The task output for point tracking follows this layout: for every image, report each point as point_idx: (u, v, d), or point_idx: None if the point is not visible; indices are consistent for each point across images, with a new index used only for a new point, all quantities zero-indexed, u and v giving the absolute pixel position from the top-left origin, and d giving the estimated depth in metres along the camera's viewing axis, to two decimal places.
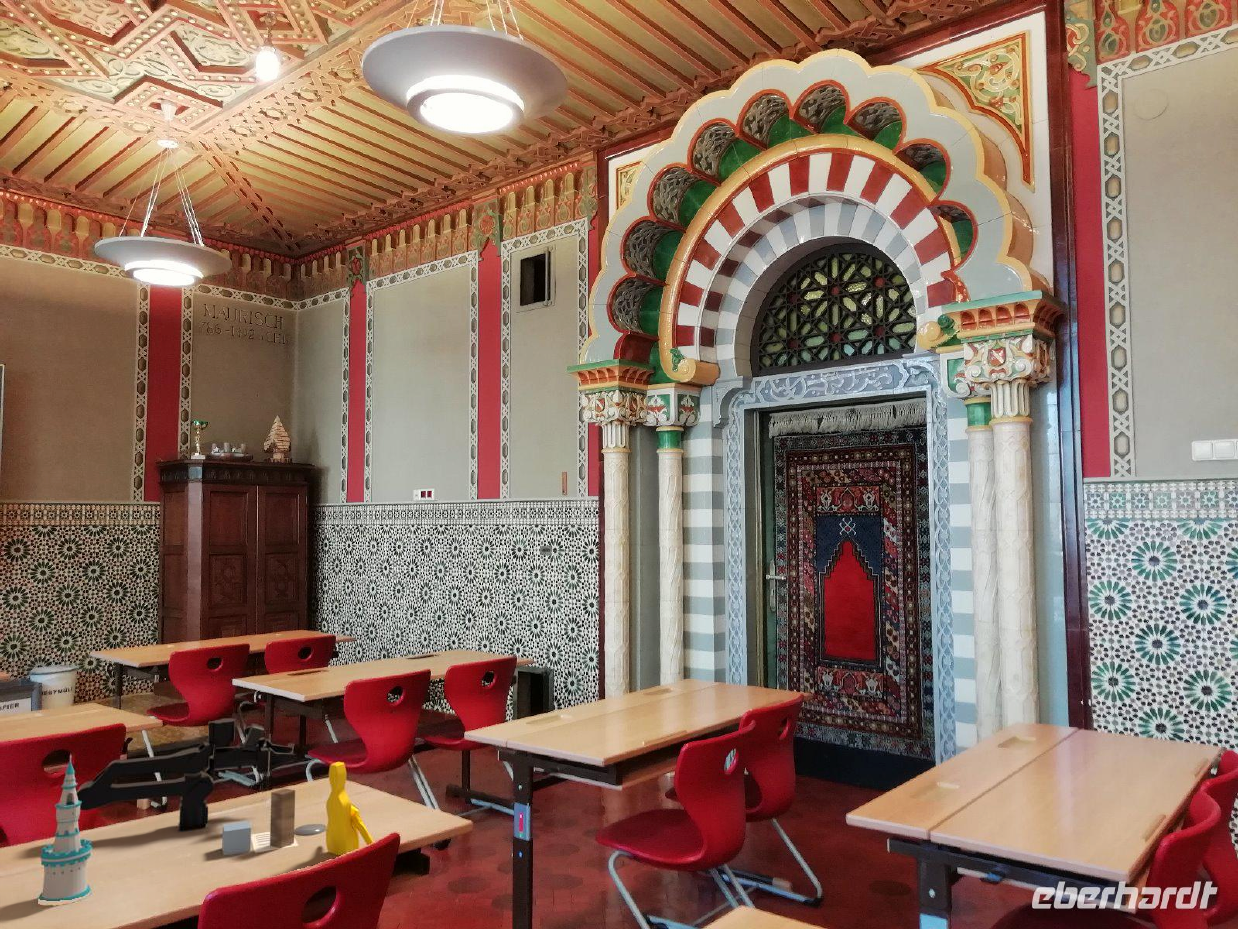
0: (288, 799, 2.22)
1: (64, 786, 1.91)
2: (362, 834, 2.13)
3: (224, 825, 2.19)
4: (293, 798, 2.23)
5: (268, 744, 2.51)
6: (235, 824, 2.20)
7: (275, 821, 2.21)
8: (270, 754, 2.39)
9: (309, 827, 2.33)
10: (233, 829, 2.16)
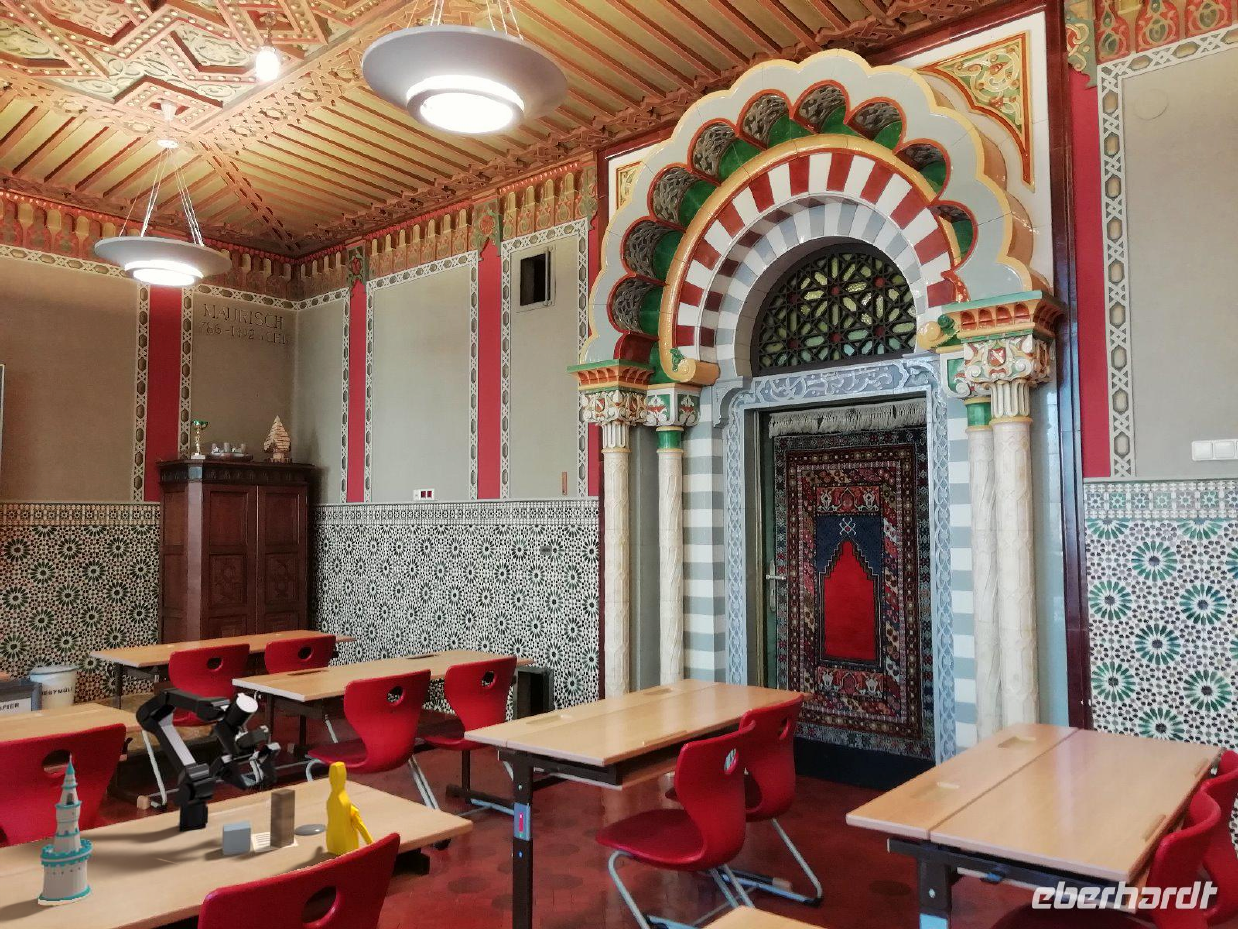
0: (288, 799, 2.22)
1: (64, 786, 1.91)
2: (362, 834, 2.13)
3: (224, 825, 2.19)
4: (293, 798, 2.23)
5: (268, 757, 2.33)
6: (235, 824, 2.20)
7: (275, 821, 2.21)
8: (225, 767, 2.22)
9: (309, 827, 2.33)
10: (233, 829, 2.16)
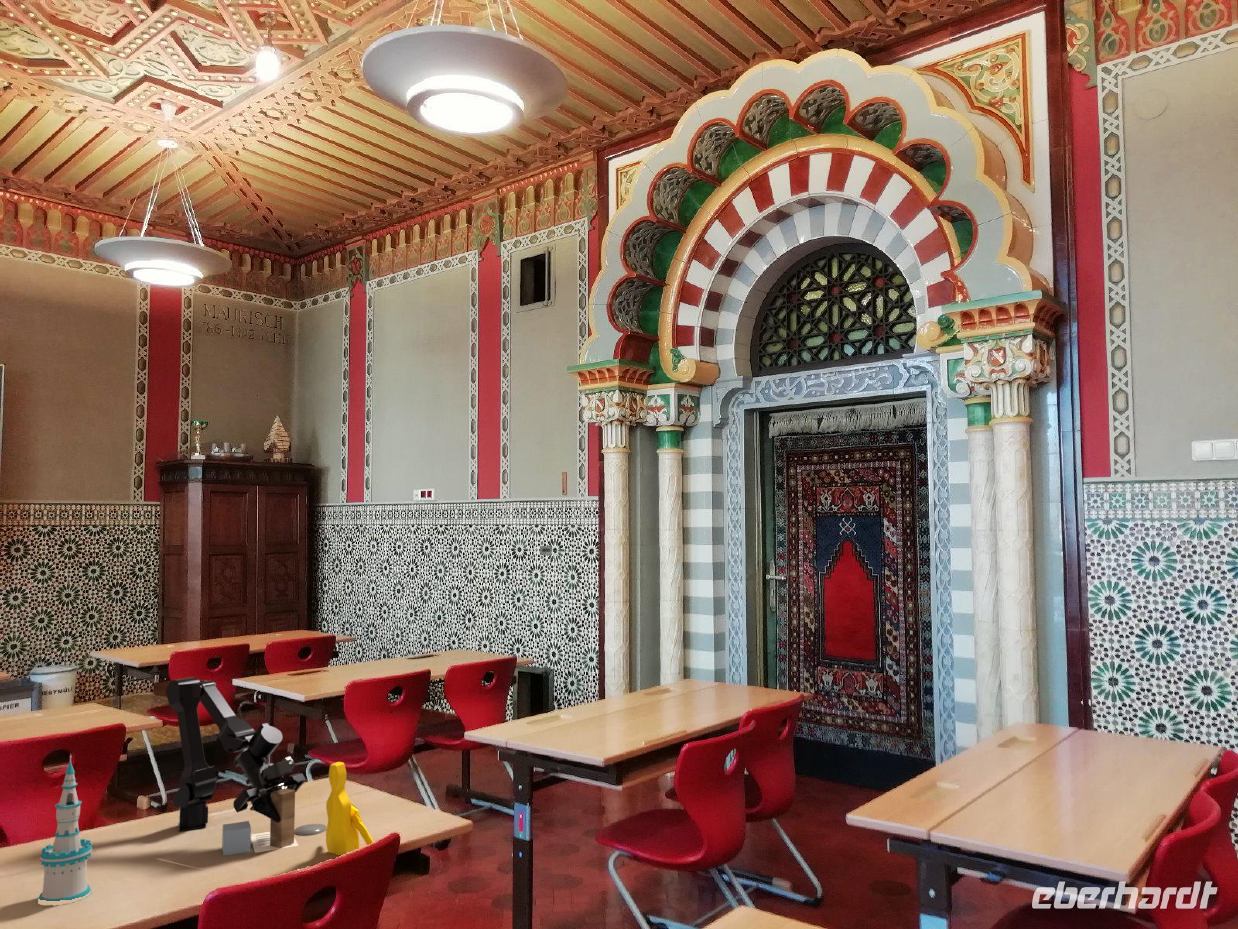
0: (288, 799, 2.22)
1: (64, 786, 1.91)
2: (362, 834, 2.13)
3: (224, 825, 2.19)
4: (293, 798, 2.23)
5: None
6: (234, 824, 2.20)
7: None
8: (259, 798, 2.19)
9: (309, 827, 2.33)
10: (233, 829, 2.16)
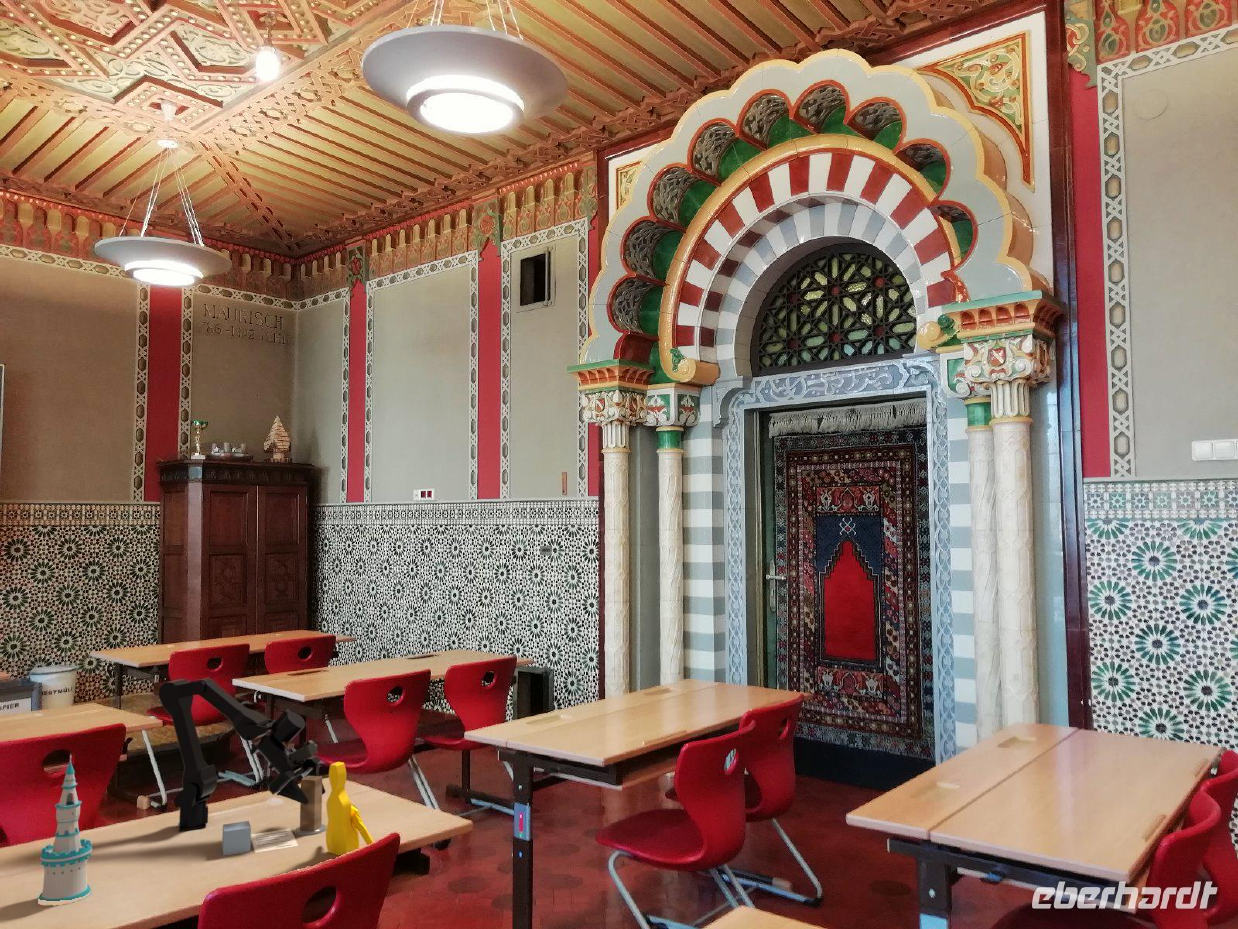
0: (318, 785, 2.33)
1: (64, 786, 1.91)
2: (362, 834, 2.13)
3: (224, 825, 2.19)
4: (321, 783, 2.34)
5: (314, 770, 2.39)
6: (235, 824, 2.20)
7: (306, 807, 2.31)
8: (288, 782, 2.26)
9: None
10: (233, 829, 2.16)
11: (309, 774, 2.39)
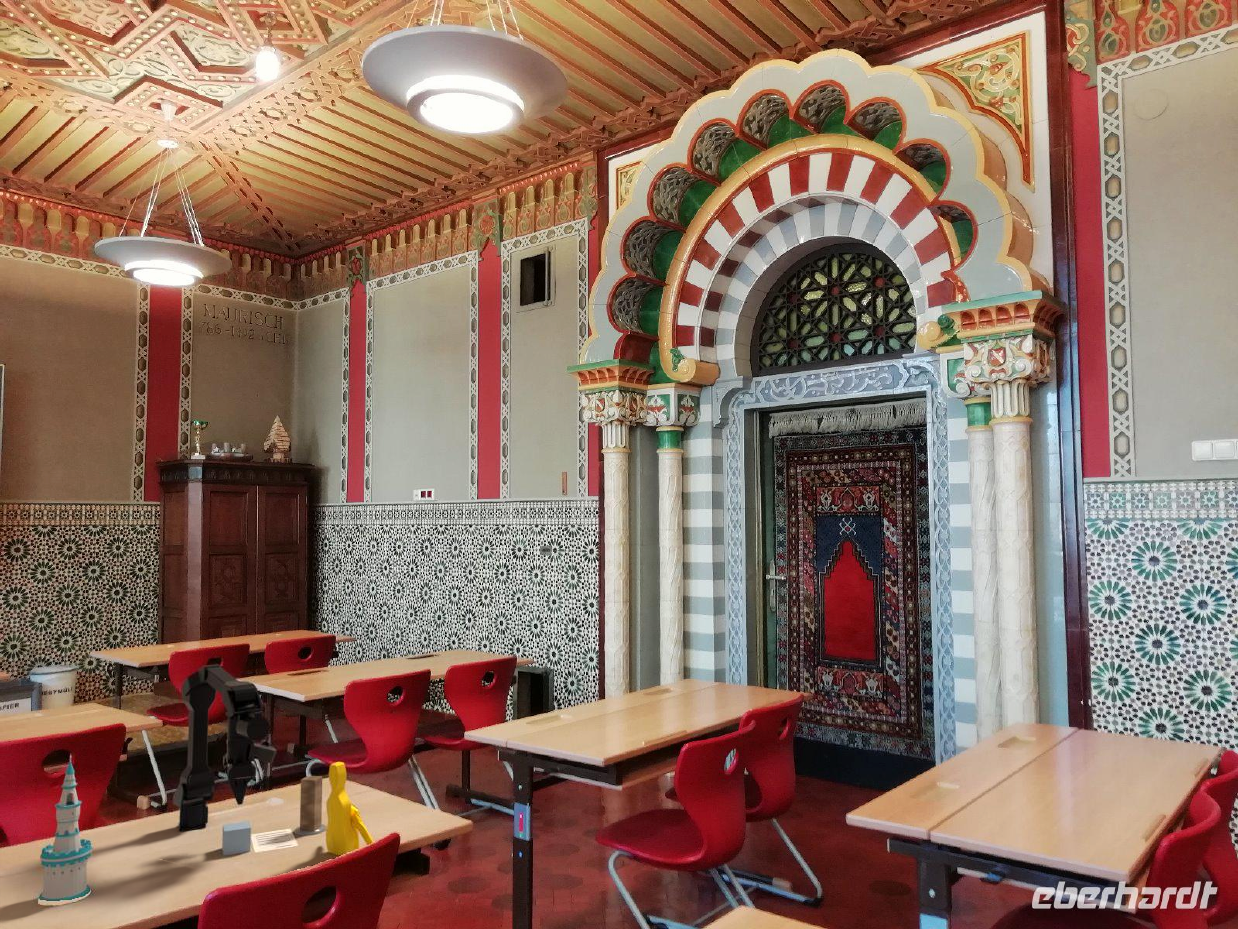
0: (318, 785, 2.33)
1: (64, 786, 1.91)
2: (362, 834, 2.13)
3: (224, 825, 2.19)
4: (321, 783, 2.35)
5: None
6: (234, 824, 2.20)
7: (306, 807, 2.31)
8: (249, 777, 2.14)
9: None
10: (233, 829, 2.16)
11: None
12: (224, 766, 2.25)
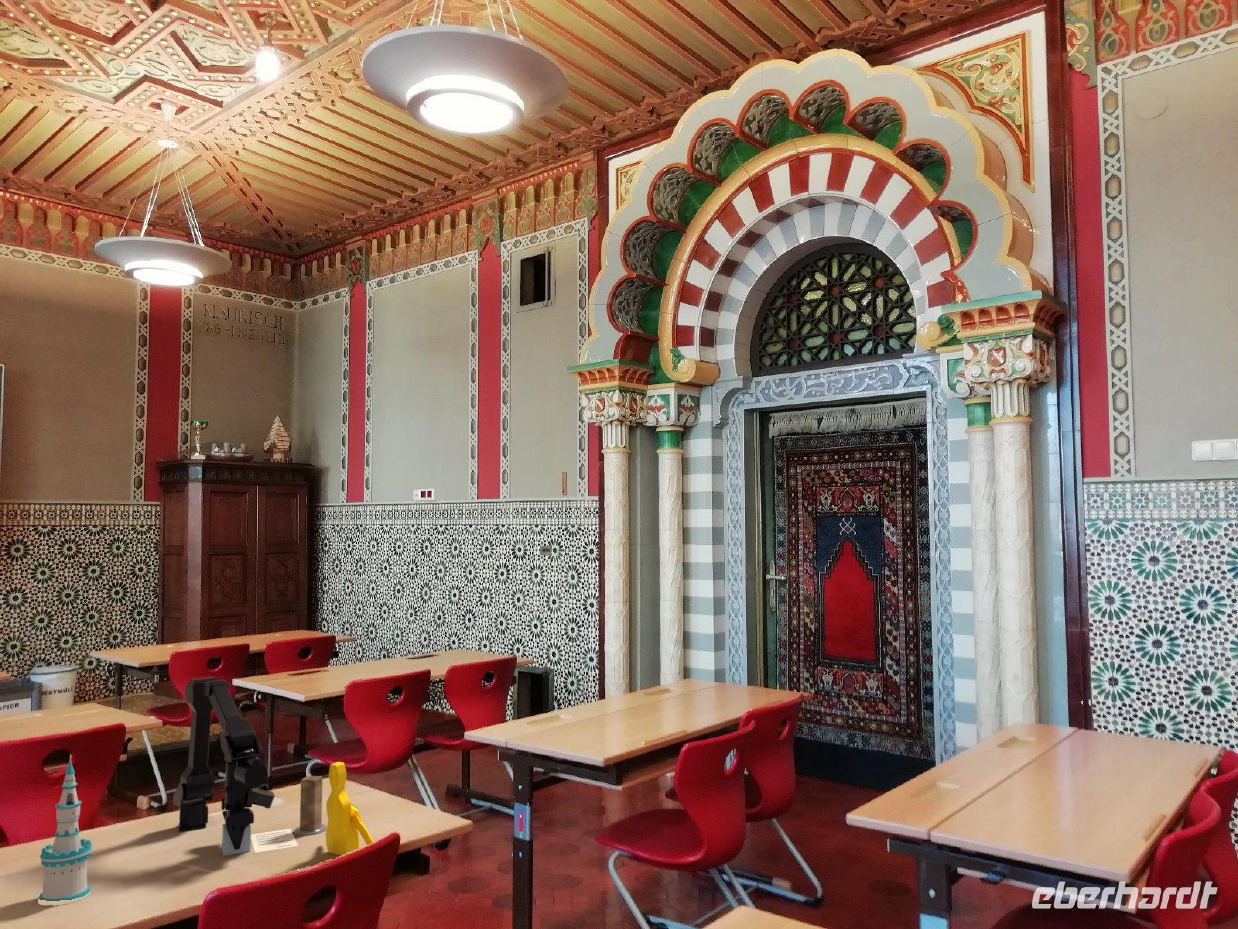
0: (318, 785, 2.33)
1: (64, 786, 1.91)
2: (362, 834, 2.13)
3: (224, 825, 2.19)
4: (321, 783, 2.35)
5: None
6: None
7: (306, 807, 2.31)
8: (246, 823, 2.14)
9: None
10: None
11: None
12: None
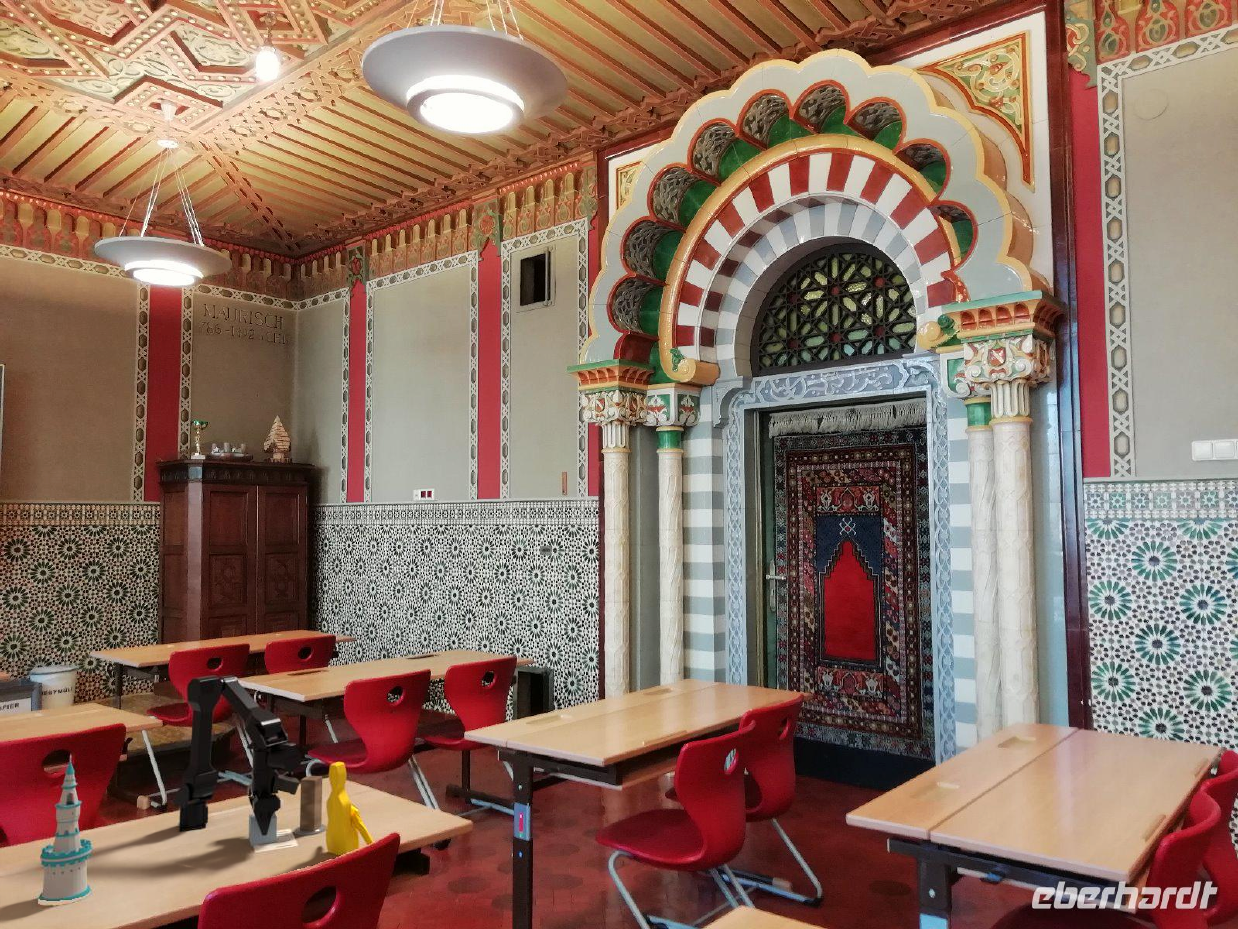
0: (318, 785, 2.33)
1: (64, 786, 1.91)
2: (362, 834, 2.13)
3: (251, 815, 2.26)
4: (321, 783, 2.35)
5: None
6: None
7: (306, 807, 2.31)
8: (274, 810, 2.19)
9: None
10: None
11: None
12: (249, 797, 2.30)
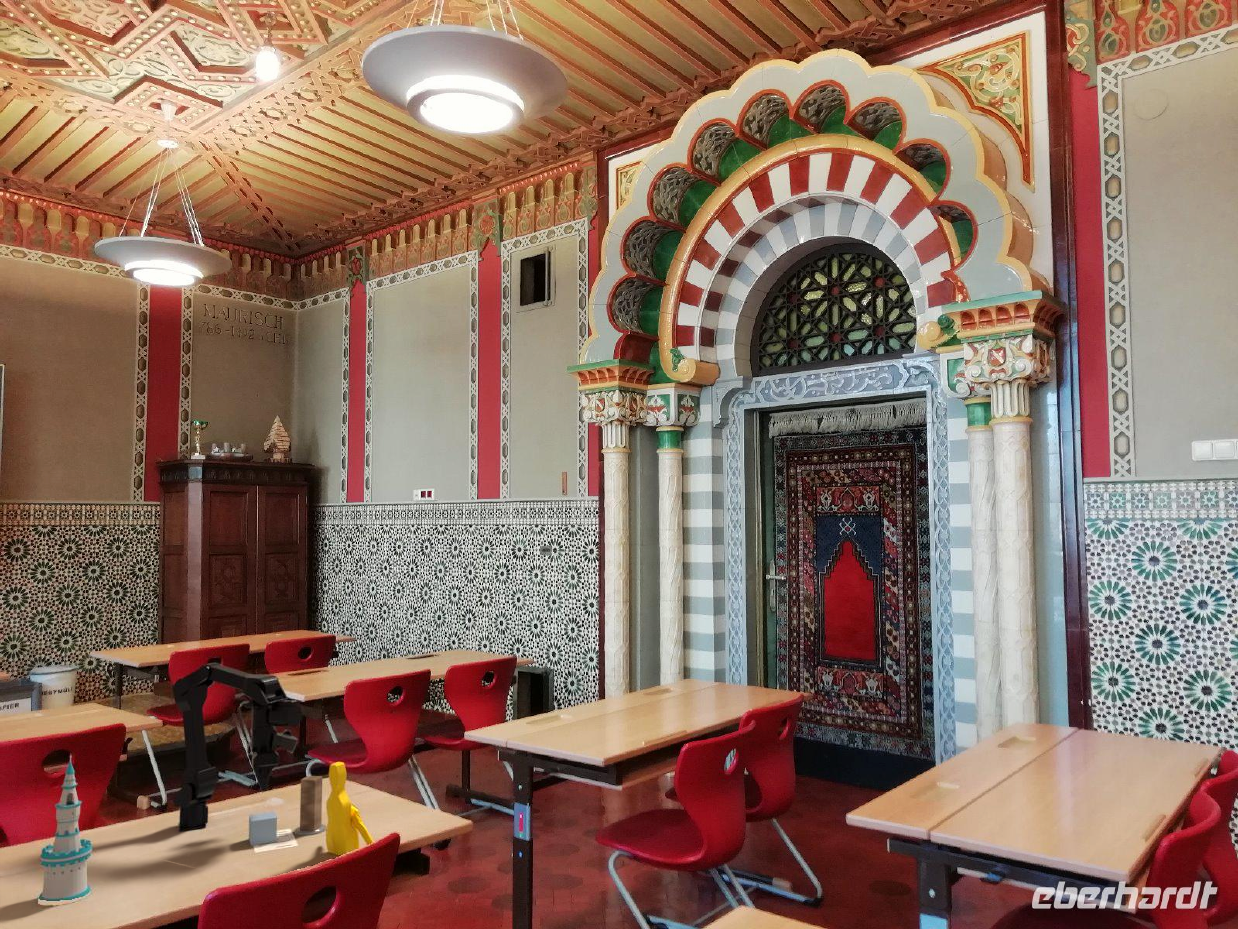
0: (318, 785, 2.33)
1: (64, 786, 1.91)
2: (362, 834, 2.13)
3: (251, 815, 2.26)
4: (321, 783, 2.35)
5: None
6: (261, 814, 2.27)
7: (306, 807, 2.31)
8: (273, 765, 2.24)
9: None
10: (260, 819, 2.23)
11: None
12: (248, 754, 2.36)
